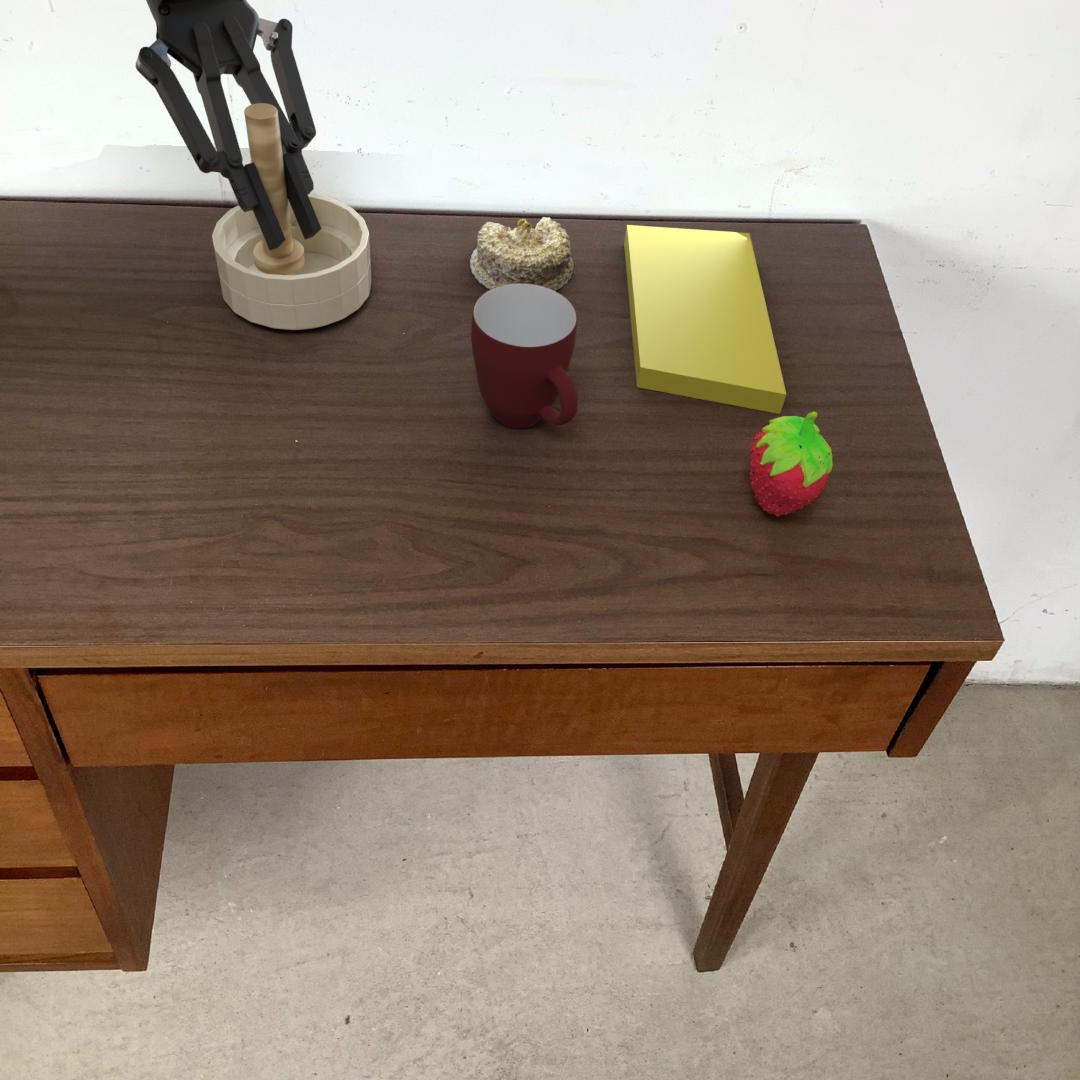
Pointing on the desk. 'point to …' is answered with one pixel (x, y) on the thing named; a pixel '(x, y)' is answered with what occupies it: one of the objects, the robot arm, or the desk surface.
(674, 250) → the yellow flat board
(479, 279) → the cake
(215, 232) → the bowl
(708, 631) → the desk surface
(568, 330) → the mug
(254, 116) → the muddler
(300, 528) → the desk surface
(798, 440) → the strawberry
